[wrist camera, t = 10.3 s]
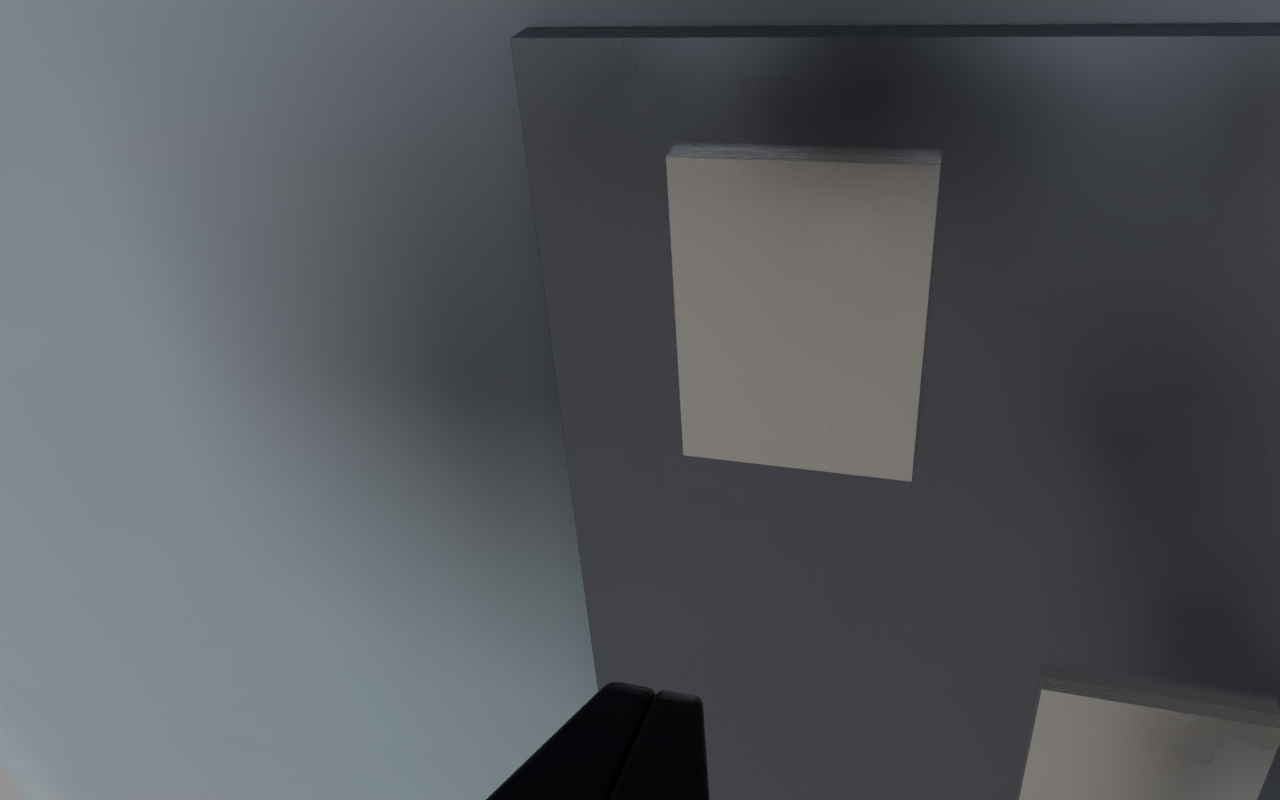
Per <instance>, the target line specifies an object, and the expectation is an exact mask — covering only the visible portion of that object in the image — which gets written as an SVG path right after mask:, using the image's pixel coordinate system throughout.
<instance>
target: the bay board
mask: <svg viewBox="0 0 1280 800" xmlns="http://www.w3.org/2000/svg"><path fill="white" fill-rule="evenodd" d="M510 40H511V47H512V55H513V62H514V69H515V77H516V84H517V92H518V99H519V107H520V114H521V121H522V129H523V136H524V144H525V151H526V159H527V166H528V173H529V181H530V188H531V196H532V203H533V210H534V218H535V225H536V233H537V240H538V248H539V255H540V262H541V270H542V277H543V285H544V292H545V299H546V307H547V314H548V322H549V329H550V337H551V344H552V351H553V359H554V366H555V374H556V381H557V388H558V396H559V403H560V411H561V418H562V426H563V433H564V440H565V448H566V455H567V463H568V470H569V477H570V485H571V492H572V500H573V507H574V515H575V522H576V529H577V537H578V544H579V552H580V559H581V566H582V574H583V581H584V589H585V596H586V604H587V611H588V618H589V626H590V633H591V641H592V648H593V655H594V663H595V670H596V678H597V685H598V692H599V691H600V690H601V689H602V688H603V687H604V686H605V685H607V684H609V683H612V682H623V683H628V684H634V685H639V686H645V687H649V688H651V689H653V690H654V691H655V694H656V693H657V692H659V691H661V690H667V691H673V692H678V693H684V694H689V695H695V696H698V697H699V698H700V699H701V700H702V702H703V711H704V725H705V740H706V754H707V769H708V783H709V797H710V800H1280V23H1263V24H1084V25H905V26H727V27H548V28H525V29H524V30H522V31H521V32H519V33H518V34H516V35H514V36H513V37H511V38H510Z"/></svg>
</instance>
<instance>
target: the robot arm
mask: <svg viewBox="0 0 1280 800" xmlns="http://www.w3.org/2000/svg"><path fill="white" fill-rule="evenodd" d="M486 800H710V797H709V783H708V769H707V754H706V740H705V725H704V711H703V702H702V700H701V699H700V698H699V697H698V696H695V695H689V694H684V693H678V692H673V691H667V690H661V691H659V692H657V693H656V694H655V691H654V690H653V689H651V688H649V687H645V686H639V685H634V684H628V683H623V682H612V683H609V684H607V685H605V686H604V687H603V688H602V689H601V690H600V691H599V692H598V693H597V694H596V695H594V696H593V697H592V698H591V699H590V700H589V701H588V702H587V703H586V704H585V705H584V706H583V707H582V708H581V709H580V710H579V711H578V712H577V713H576V714H575V715H574V716H573V717H572V718H571V719H569V720H568V721H567V722H566V723H565V724H564V725H563V726H562V727H561V728H560V729H559V730H558V731H557V732H556V733H555V734H554V735H553V736H552V737H551V738H550V739H549V740H548V741H547V742H546V743H544V744H543V745H542V746H541V747H540V748H539V749H538V750H537V751H536V752H535V753H534V754H533V755H532V756H531V757H530V758H529V759H528V760H527V761H526V762H525V763H524V764H523V765H522V766H521V767H520V768H518V769H517V770H516V771H515V772H514V773H513V774H512V775H511V776H510V777H509V778H508V779H507V780H506V781H505V782H504V783H503V784H502V785H501V786H500V787H499V788H498V789H497V790H496V791H495V792H493V793H492V794H491V795H490V796H489V797H488V798H487V799H486Z"/></svg>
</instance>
